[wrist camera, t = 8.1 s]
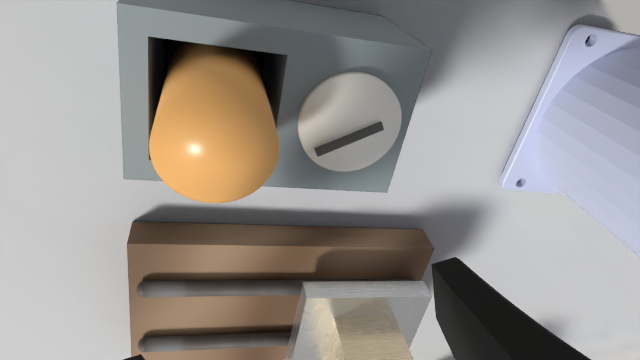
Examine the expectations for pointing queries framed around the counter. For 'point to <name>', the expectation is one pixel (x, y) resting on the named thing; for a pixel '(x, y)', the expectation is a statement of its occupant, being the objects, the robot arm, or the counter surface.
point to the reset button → (213, 125)
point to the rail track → (247, 282)
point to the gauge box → (286, 83)
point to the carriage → (357, 320)
